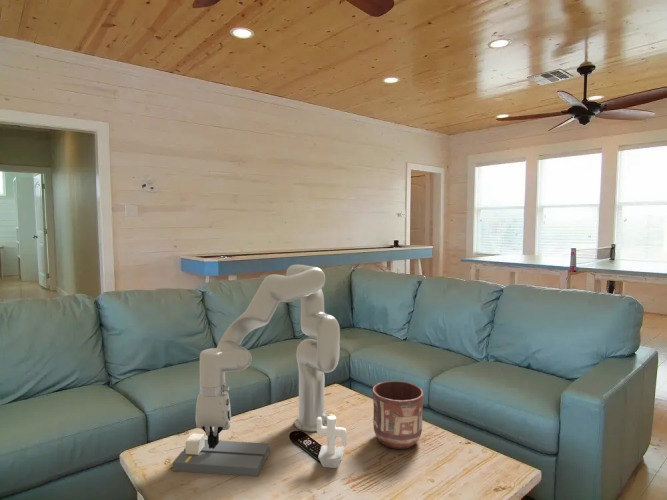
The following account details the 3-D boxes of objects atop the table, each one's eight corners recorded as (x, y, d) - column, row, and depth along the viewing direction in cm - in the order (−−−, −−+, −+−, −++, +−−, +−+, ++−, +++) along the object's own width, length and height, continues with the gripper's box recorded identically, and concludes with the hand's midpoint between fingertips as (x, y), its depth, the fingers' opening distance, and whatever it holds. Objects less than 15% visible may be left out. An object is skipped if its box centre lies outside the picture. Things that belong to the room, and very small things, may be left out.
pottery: (360, 439, 145) (361, 388, 144) (394, 423, 156) (394, 376, 155) (400, 461, 131) (401, 405, 130) (433, 442, 143) (434, 391, 142)
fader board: (269, 450, 137) (269, 442, 137) (257, 476, 123) (257, 467, 123) (192, 446, 139) (192, 438, 139) (172, 470, 125) (172, 461, 125)
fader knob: (204, 449, 134) (204, 434, 134) (198, 457, 129) (197, 442, 129) (192, 448, 135) (192, 433, 134) (185, 457, 130) (185, 441, 129)
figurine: (345, 471, 126) (345, 423, 125) (314, 468, 127) (314, 420, 126) (347, 458, 133) (348, 412, 132) (318, 455, 134) (318, 410, 133)
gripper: (239, 385, 133) (240, 441, 134) (194, 383, 135) (195, 438, 136) (231, 395, 126) (232, 454, 127) (184, 392, 127) (185, 451, 128)
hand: (213, 446), depth 131 cm, fingers closed
